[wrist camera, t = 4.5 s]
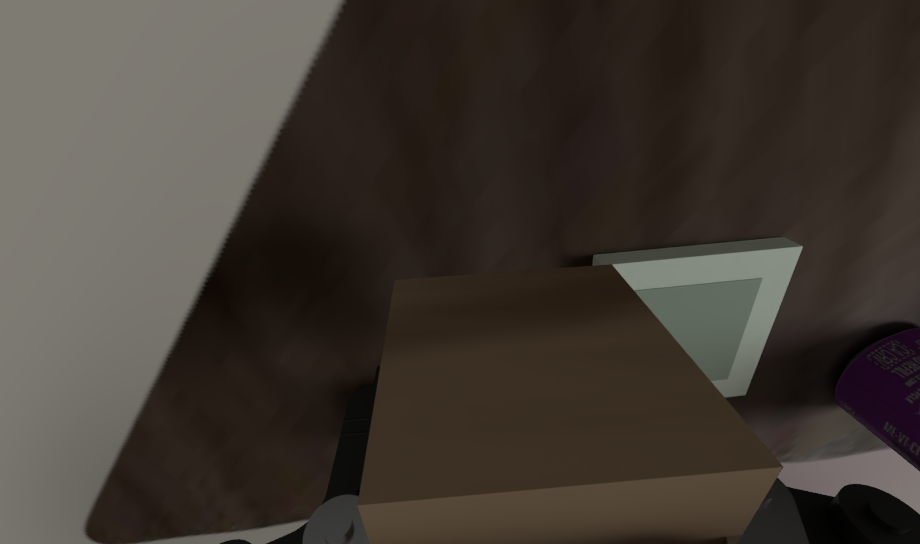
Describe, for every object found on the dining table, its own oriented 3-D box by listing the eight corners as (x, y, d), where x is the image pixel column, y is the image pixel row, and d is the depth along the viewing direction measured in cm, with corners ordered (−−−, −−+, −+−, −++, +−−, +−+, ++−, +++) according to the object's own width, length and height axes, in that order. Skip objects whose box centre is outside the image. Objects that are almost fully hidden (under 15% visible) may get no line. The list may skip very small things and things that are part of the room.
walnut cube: (394, 280, 10) (357, 505, 5) (612, 264, 11) (783, 467, 5) (417, 426, 13) (407, 662, 8) (586, 412, 14) (681, 634, 8)
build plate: (593, 254, 20) (603, 265, 18) (783, 236, 20) (804, 246, 19) (578, 397, 24) (585, 413, 23) (731, 381, 25) (746, 396, 23)
